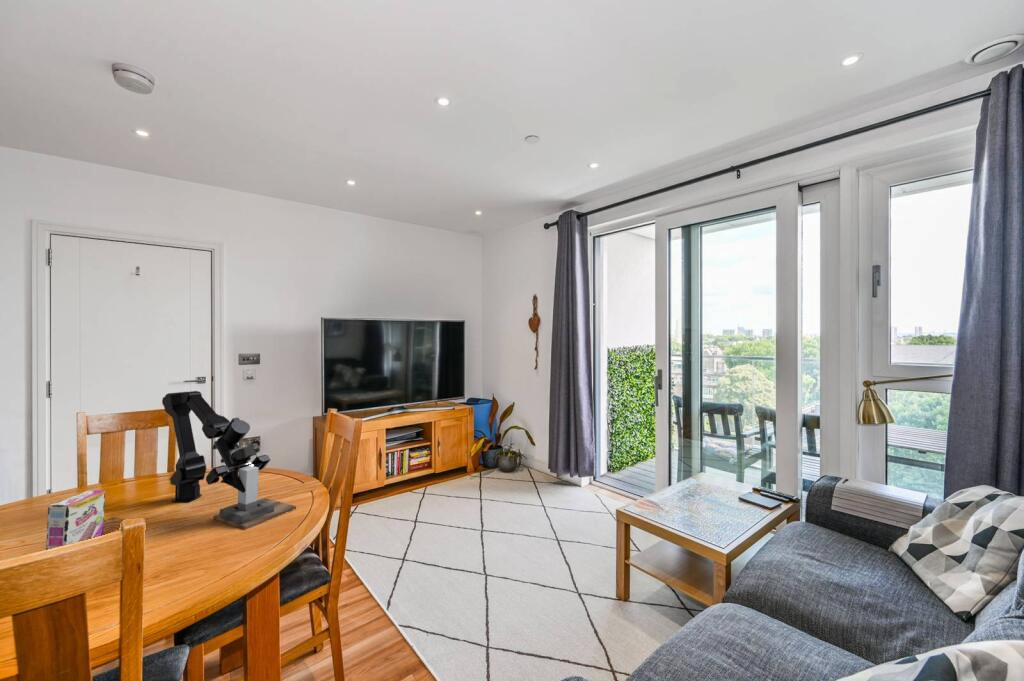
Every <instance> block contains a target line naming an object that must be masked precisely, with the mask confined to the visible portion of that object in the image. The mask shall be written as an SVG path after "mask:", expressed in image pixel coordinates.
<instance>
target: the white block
mask: <svg viewBox="0 0 1024 681" xmlns="http://www.w3.org/2000/svg"><path fill="white" fill-rule="evenodd" d="M258 470H259V467H254V466H247V467H244V468H240V469H239V471H238V476H239V478H240V480H241V482H242V484H243V486H244V488H245V492H244V493H242V492H241V491H239V490H237V503H238V509H237V510H241V511H244V512H245V511H248V510H251V509H254V508H256V507H257V500H259V499H258V497H259V496H258V493H259V492H258V491H259V471H260V470H259V471H258Z"/></svg>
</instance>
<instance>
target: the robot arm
mask: <svg viewBox="0 0 1024 681" xmlns="http://www.w3.org/2000/svg"><path fill="white" fill-rule="evenodd" d="M161 403H162V405H163V408H164V411H165V413H167V415H168V416H170V417H171V418H172V423H173V428H174V432H175V438H176V443H177V450H178V455H179V458H178V459H177V461H176V464H175V471H174V472H173V474H172V475H171V477H170V478H169V481H170V485H172V486H175V487H174V488H175V492H174V494H175V496H174V499H171V502H174V503H190V502H193V501H194V500H196V499H198V498H200V497H202V496H203V494H201V485H200V481H204V478H205V481H206V484H207V485H208V486H209V485H212V484H216V483H218V482H219V480H220V477H221V479H222V480H221V481H220V483H221V484H225V485H227V486H230V487H232V488H234V489H236V490H237V491H238V490H239V491H241V492H242V493H244V492H245V488H244V486H243V484H242V482H241V480H240V478H239V469H240V468H244V467H247V466H254V467H259V470H258V472H259V471H262V470H263V469H264V468H266V466H267V465H268V464H269V463H270V461H271V458H270V456H269V455H267V454H263V455H262V454H261V455H259V456H256V455H257V453H259V452H260V450H261V449H260V446H259V444H258V443H257V442H256V443H251V444H249V446H246V447H240V445H239V443H241V441H242V440H243V439H244V438H245V437H246V435H247V434H248V433H249V432H250V430H251V425H250V424H249V423H248V422H247V421H245V420H242V419H240V417H234V418H232V419H231V420H230V419H228V418H227V417H225V416H223V415H222V414H221V415H220V414H218V413H217V412H216V411H215V410H214V408H212V407H211V406H210V404H209V403H208V402H207V401H206V400H205V398H204V397H203V394H202V392H201V391H198V390H193V391H192V390H191V391H180V392H169V393H166V394H165V395H164V397H162V400H161ZM191 412H192V413H194V415H195V416H196V417H197V418H198V420H199V421H200V423H201V424H202V426H201V431H202V432H203V434H204V436H205V437H206V438H207V439H208V440H212V439H217V440H215V441H213V442H214V443H213V446H212V450H213V451H214V450H217V451H218V453H219V455H220V457H221V459H220V463H221V464H225V465H220V466H215V467H212V469H211V470H210V471H209V473H207V475H206V472H207V464H206V459H205V456H204V455H203V454H202V455H200V454H199V453H198V452H197V449H196V443H195V438H194V433H193V427H192V422H191V417H190V413H191ZM254 456H256V457H255V458H254V459H253V460H252V457H254ZM250 460H252V461H251V462H249V461H250ZM205 475H206V477H205Z"/></svg>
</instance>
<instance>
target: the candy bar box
mask: <svg viewBox="0 0 1024 681" xmlns="http://www.w3.org/2000/svg"><path fill="white" fill-rule="evenodd" d="M105 498H106V491H105V490H86V491H84V492H81V493H78V494H76V495H73V496H70V497H68V498H65V499H62V500H60V501H57V502H55V503H52V504H49V505H48V506H47V523H46V524H47V525H46V547H45V548H46V549H45V551H46V550H48V549H52V548H55V547H59V546H64V545H68V544H72V543H76V542H80V541H84V540H88V539H92V538H95V537H98V536H102V535H103V525H104V520H105V518H104V517H105V501H106V499H105Z"/></svg>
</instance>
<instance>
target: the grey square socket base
mask: <svg viewBox="0 0 1024 681" xmlns="http://www.w3.org/2000/svg"><path fill="white" fill-rule="evenodd" d="M295 508H296V509H297V505H293V504H290V503H285V502H281V501H279V500H274V499H271V498H267V497H264V498H261V499H258V500H257V507H256V508H254V509H251V510H248V511H245V512H244V511H241V510H237V509H238V502H237V503H234V504H232V505H230V506H227V507H223V508H220V509H219V514H215V515H213V516H212V517H213V518H214V519H216V520H215V521H217V520H219V521H218V522H220V521H222V522H221V523H224V522H225V523H224V524H227V523H228V525H231V526H234V527H236V528H239V529H243V530H249V529H250V528H253V527H255V526H257V525H260V524H263V523H265V522H267V520H268V521H270V520H273V519H275V518H278V517H280V516H282V515H281V514H283V515H285V514H287V513H286V512H288V513H290V512H292V511H294V510H293V509H295ZM296 509H295V510H296ZM291 510H292V511H291ZM289 511H290V512H289ZM284 513H285V514H284ZM279 515H280V516H279ZM277 516H278V517H277ZM274 517H275V518H274ZM213 518H212V519H213ZM272 518H273V519H272ZM214 519H213V520H214Z"/></svg>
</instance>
